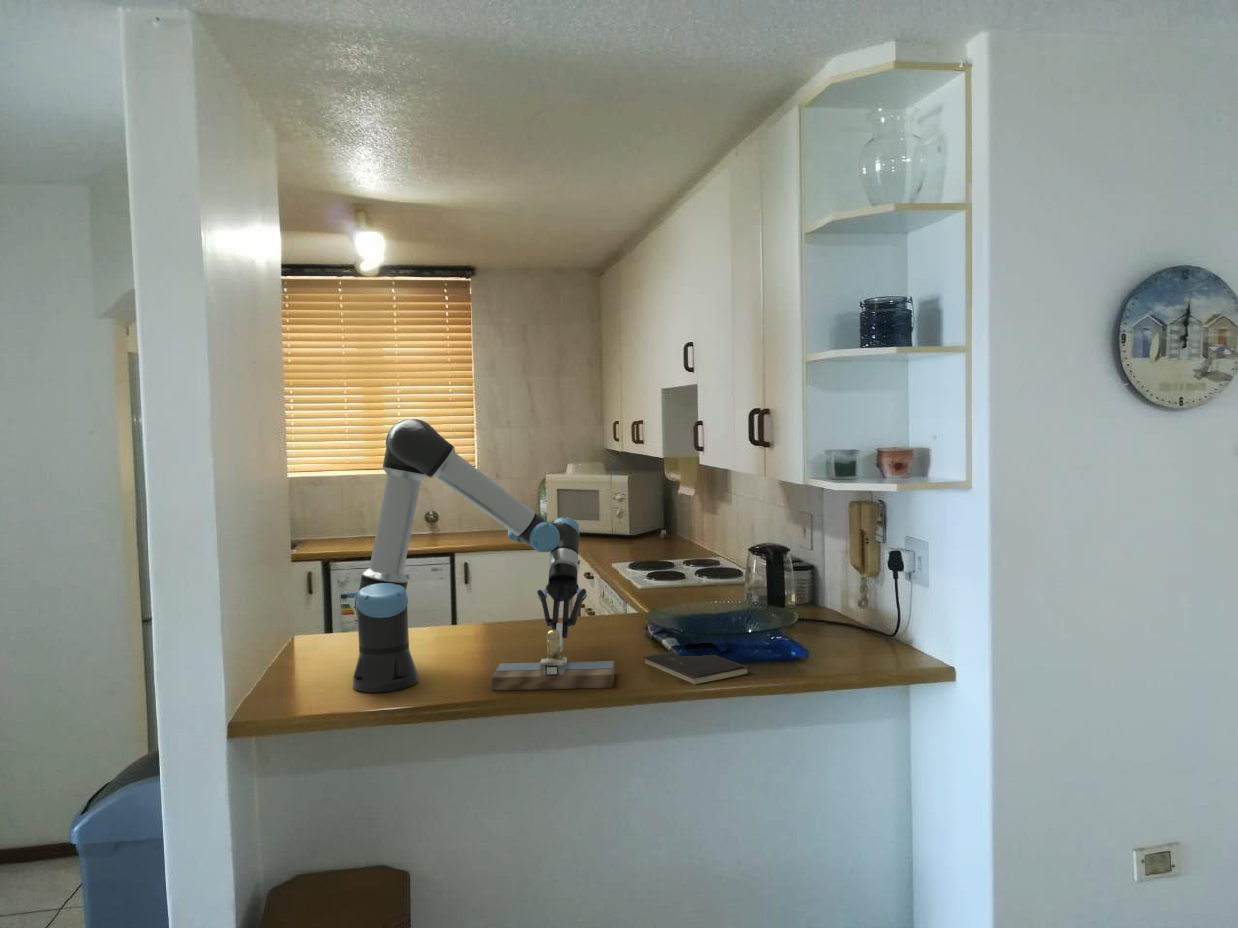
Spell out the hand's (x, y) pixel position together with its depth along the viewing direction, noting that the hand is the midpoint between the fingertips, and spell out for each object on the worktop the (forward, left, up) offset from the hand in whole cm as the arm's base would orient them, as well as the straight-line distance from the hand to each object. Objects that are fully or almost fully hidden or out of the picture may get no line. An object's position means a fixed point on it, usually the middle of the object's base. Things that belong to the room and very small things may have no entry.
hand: (558, 648), depth 217 cm
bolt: (0, -9, -3) cm, 9 cm away
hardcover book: (+33, +2, -7) cm, 34 cm away
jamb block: (0, -10, -6) cm, 12 cm away
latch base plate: (0, -4, -6) cm, 7 cm away
